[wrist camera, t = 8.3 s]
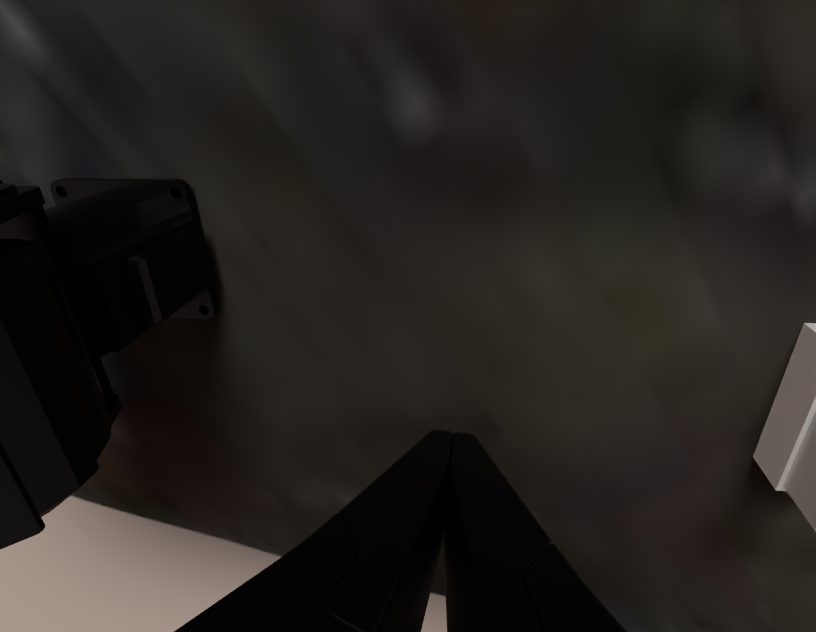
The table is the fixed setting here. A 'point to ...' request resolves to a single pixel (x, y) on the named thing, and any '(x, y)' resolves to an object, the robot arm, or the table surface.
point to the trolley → (794, 429)
